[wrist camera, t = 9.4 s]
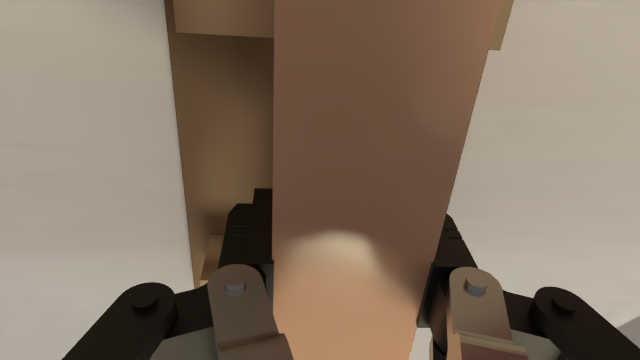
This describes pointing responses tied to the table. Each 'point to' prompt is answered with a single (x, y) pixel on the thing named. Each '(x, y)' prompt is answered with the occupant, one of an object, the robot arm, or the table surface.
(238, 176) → the cleated wooden board
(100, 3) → the table surface
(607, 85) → the table surface
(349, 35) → the clay bar
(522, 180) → the table surface
